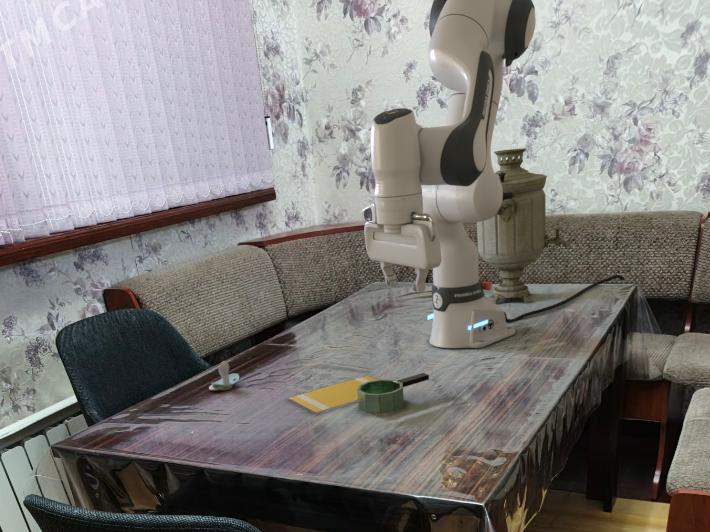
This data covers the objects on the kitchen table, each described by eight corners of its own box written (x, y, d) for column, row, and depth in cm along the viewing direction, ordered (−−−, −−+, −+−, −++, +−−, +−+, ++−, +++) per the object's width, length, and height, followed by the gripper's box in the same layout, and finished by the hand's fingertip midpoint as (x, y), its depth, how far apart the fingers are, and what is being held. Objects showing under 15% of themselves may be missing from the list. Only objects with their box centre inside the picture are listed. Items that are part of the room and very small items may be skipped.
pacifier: (203, 392, 161) (224, 394, 158) (197, 365, 158) (218, 366, 155) (223, 382, 166) (244, 383, 163) (217, 356, 163) (238, 356, 160)
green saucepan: (413, 388, 151) (412, 368, 149) (440, 398, 145) (439, 378, 142) (350, 407, 144) (348, 387, 142) (375, 419, 137) (374, 398, 135)
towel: (367, 377, 160) (366, 375, 160) (397, 389, 151) (397, 387, 151) (289, 400, 151) (288, 397, 151) (316, 414, 142) (316, 412, 142)
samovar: (542, 314, 195) (547, 151, 175) (457, 309, 208) (453, 156, 188) (577, 290, 217) (586, 142, 196) (498, 287, 229) (499, 147, 209)
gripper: (447, 211, 125) (451, 291, 132) (383, 206, 140) (389, 278, 147) (419, 217, 122) (424, 298, 129) (356, 211, 137) (363, 284, 144)
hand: (405, 288), depth 138 cm, fingers open, 8 cm apart
